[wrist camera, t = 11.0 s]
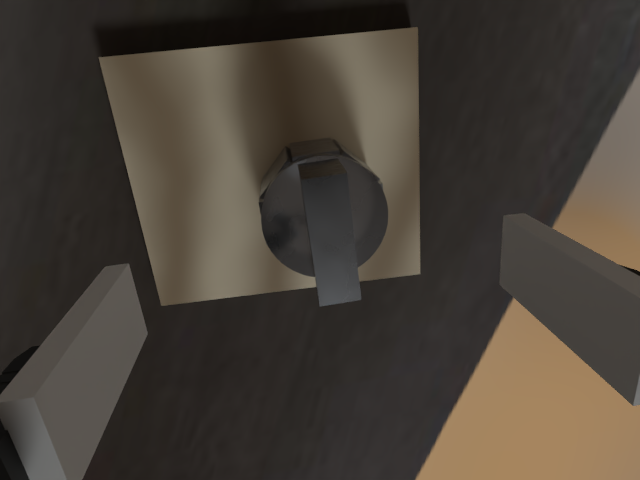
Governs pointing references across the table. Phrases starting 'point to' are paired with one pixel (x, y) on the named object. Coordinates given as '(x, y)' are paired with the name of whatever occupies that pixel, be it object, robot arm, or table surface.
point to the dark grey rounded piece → (323, 215)
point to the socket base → (260, 149)
